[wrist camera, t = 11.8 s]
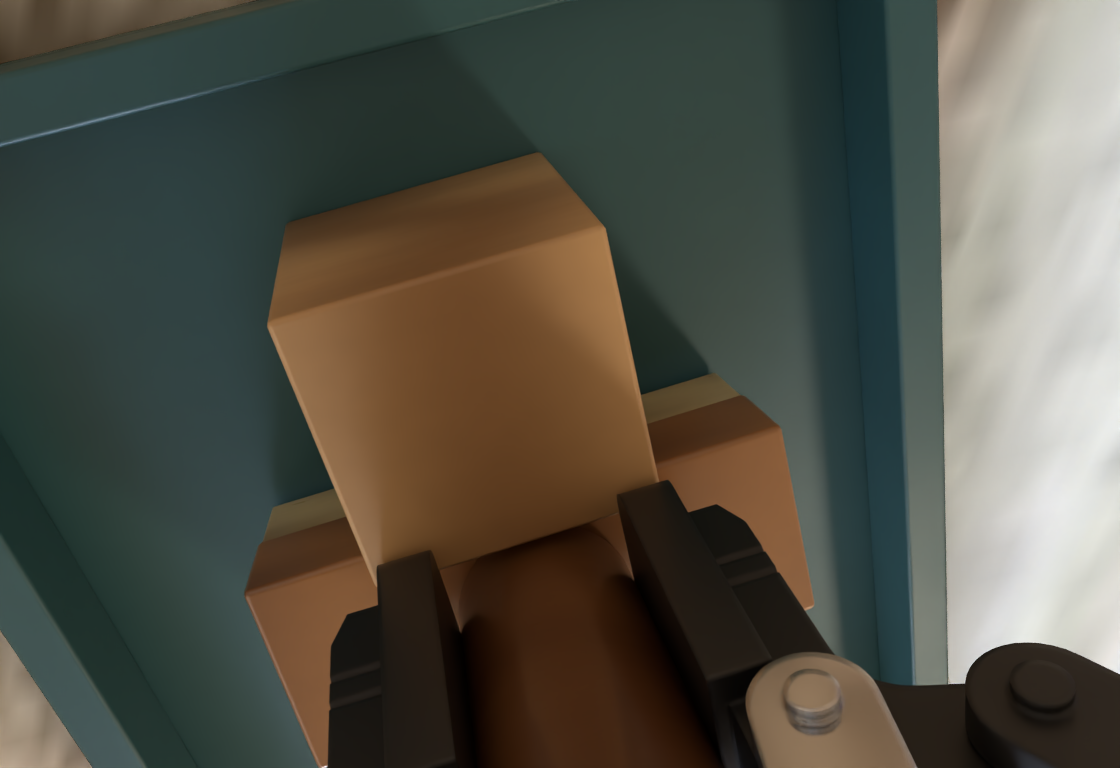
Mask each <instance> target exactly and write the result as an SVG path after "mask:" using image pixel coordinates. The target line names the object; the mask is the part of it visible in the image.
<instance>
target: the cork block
mask: <svg viewBox="0 0 1120 768" xmlns="http://www.w3.org/2000/svg"><path fill="white" fill-rule="evenodd" d="M267 328H268V330H269V333H270V335H271V337H272V340H273V342H274V345H275V347H276V349H277V352H278V354H279V357H280V359H281V361H282V364H283V366H284V369H285V371H286V373H287V376H288V378H289V381H290V383H291V385H292V388H293V390H294V393H295V395H296V397H297V400H298V402H299V405H300V407H301V409H302V412H303V414H304V417H305V419H306V421H307V424H308V426H309V429H310V431H311V433H312V436H313V438H314V441H315V443H316V445H317V448H318V450H319V453H320V455H321V457H322V460H323V462H324V465H325V467H326V469H327V472H328V474H329V477H330V479H331V481H332V484H333V486H334V489H335V491H336V493H337V496H338V498H339V501H340V503H341V505H342V508H343V510H344V513H345V515H346V517H347V520H348V522H349V525H350V527H351V529H352V532H353V534H354V536H355V539H356V541H357V544H358V546H359V548H360V551H361V553H362V556H363V558H364V560H365V563H366V565H367V568H368V570H369V572H370V575H371V577H372V580H373V582H374V584H375V586H376V587H377V565H380V564H383V563H387V562H390V561H393V560H397V559H400V558H403V557H407V556H410V555H414V554H417V553H420V552H424V551H427V550H431V551H432V553H433V555H434V558H435V561H436V564H437V566H438V569H439V570H442V569H445V568H448V567H451V566H455V565H458V564H461V563H464V562H467V561H470V560H474V559H477V558H480V557H483V556H486V555H489V554H493V553H496V552H499V551H502V550H505V549H508V548H511V547H515V546H518V545H521V544H524V543H527V542H530V541H534V540H537V539H540V538H543V537H546V536H549V535H553V534H556V533H559V532H562V531H565V530H568V529H572V528H575V527H578V526H581V525H584V524H587V523H591V522H594V521H597V520H600V519H603V518H606V517H610V516H613V515H616V514H619V508H618V504H617V494H621V493H624V492H628V491H631V490H634V489H638V488H641V487H644V486H648V485H651V484H655V483H658V482H659V479H658V474H657V469H656V464H655V460H654V455H653V450H652V445H651V441H650V436H649V431H648V426H647V422H646V417H645V412H644V407H643V403H642V398H641V393H640V388H639V384H638V379H637V374H636V369H635V365H634V360H633V355H632V351H631V346H630V341H629V336H628V332H627V327H626V322H625V317H624V313H623V308H622V303H621V298H620V294H619V289H618V284H617V279H616V275H615V270H614V265H613V260H612V256H611V251H610V246H609V241H608V237H607V232H606V228H605V227H604V226H603V224H602V223H601V222H600V221H599V220H598V218H597V217H596V216H595V215H594V214H593V213H592V211H591V210H590V209H589V208H588V207H587V206H586V205H585V203H584V202H583V201H582V200H581V199H580V198H579V196H578V195H577V194H576V193H575V192H574V191H573V189H572V188H571V187H570V186H569V185H568V184H567V182H566V181H565V180H564V179H563V178H562V177H561V175H560V174H559V173H558V172H557V171H556V170H555V168H554V167H553V166H552V165H551V164H550V163H549V161H548V160H547V159H546V158H545V157H544V156H543V155H542V153H539V152H536V153H533V154H529V155H525V156H522V157H518V158H515V159H511V160H508V161H504V162H501V163H497V164H494V165H490V166H486V167H483V168H479V169H476V170H472V171H469V172H465V173H462V174H458V175H455V176H451V177H447V178H444V179H440V180H437V181H433V182H430V183H426V184H423V185H419V186H416V187H412V188H408V189H405V190H401V191H398V192H394V193H391V194H387V195H384V196H380V197H377V198H373V199H369V200H366V201H362V202H359V203H355V204H352V205H348V206H345V207H341V208H338V209H334V210H330V211H327V212H323V213H320V214H316V215H313V216H309V217H306V218H302V219H299V220H295V221H291V222H289V223H287V224H286V226H285V232H284V237H283V242H282V248H281V253H280V258H279V264H278V269H277V274H276V279H275V285H274V290H273V295H272V301H271V306H270V311H269V317H268V322H267Z"/></svg>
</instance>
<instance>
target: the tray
mask: <svg viewBox="0 0 1120 768" xmlns="http://www.w3.org/2000/svg"><path fill="white" fill-rule="evenodd" d="M536 152H539V153H542V155H543V156H544V157H545V158H546V159H547V160H548V161H549V163H550V164H551V165H552V166H553V167H554V168H555V170H556V171H557V172H558V173H559V174H560V175H561V177H562V178H563V179H564V180H565V181H566V182H567V184H568V185H569V186H570V187H571V188H572V189H573V191H574V192H575V193H576V194H577V195H578V196H579V198H580V199H581V200H582V201H583V202H584V203H585V205H586V206H587V207H588V208H589V209H590V210H591V211H592V213H593V214H594V215H595V216H596V217H597V218H598V220H599V221H600V222H601V223H602V224H603V226H604V227H605V228H606V232H607V237H608V241H609V246H610V251H611V256H612V260H613V265H614V270H615V275H616V279H617V284H618V289H619V294H620V298H621V303H622V308H623V313H624V317H625V322H626V327H627V332H628V336H629V341H630V346H631V351H632V355H633V360H634V365H635V369H636V374H637V379H638V384H639V388H640V393H641V395H643V394H646V393H649V392H653V391H656V390H659V389H662V388H666V387H669V386H672V385H675V384H679V383H682V382H685V381H689V380H692V379H695V378H698V377H702V376H705V375H708V374H712V373H716V374H717V375H718V376H719V377H721V378H722V379H723V380H724V381H725V382H726V383H727V384H728V385H730V386H731V387H732V388H733V389H734V390H735V391H736V392H737V393H739V394H740V395H744V396H746V397H747V398H748V399H749V400H751V401H752V402H753V403H754V404H755V405H756V406H757V407H759V408H760V409H761V410H762V411H763V412H764V413H765V414H766V415H768V416H769V417H770V418H771V419H772V420H773V421H774V422H776V423H777V424H778V425H779V426H780V428H781V429H782V434H783V440H784V445H785V450H786V456H787V461H788V466H789V471H790V477H791V482H792V487H793V492H794V498H795V503H796V508H797V513H798V519H799V524H800V529H801V534H802V540H803V545H804V550H805V555H806V561H807V566H808V571H809V577H810V582H811V587H812V592H813V598H814V607H812V608H811V609H808V610H805V611H806V613H807V614H808V616H809V617H810V619H811V620H812V622H813V623H814V625H815V626H816V628H817V630H818V631H819V633H820V634H821V636H822V637H823V639H824V640H825V642H826V643H827V645H828V646H829V648H830V649H831V650H832V651H833V653H834V654H835V655H836V656H839V657H842V658H844V659H847V660H849V661H851V662H853V663H855V664H856V665H858V666H859V667H861V668H862V669H863V670H864V671H866V672H867V673H868V674H869V675H870V676H871V678H872V679H875V680H878V681H882V682H887V683H891V684H899V685H942V684H948V649H947V587H946V526H945V464H944V403H943V341H942V280H941V218H940V157H939V95H938V34H937V0H257V1H253V2H249V3H245V4H241V5H237V6H232V7H228V8H224V9H220V10H216V11H212V12H208V13H204V14H200V15H196V16H192V17H188V18H184V19H180V20H176V21H172V22H168V23H164V24H160V25H156V26H152V27H148V28H144V29H140V30H136V31H132V32H128V33H124V34H120V35H115V36H111V37H107V38H103V39H99V40H95V41H91V42H87V43H83V44H79V45H75V46H71V47H67V48H63V49H59V50H55V51H51V52H47V53H43V54H39V55H35V56H31V57H27V58H23V59H19V60H15V61H11V62H7V63H3V64H0V630H1V632H2V633H3V635H4V636H5V638H6V639H7V641H8V642H9V644H10V645H11V647H12V648H13V650H14V651H15V653H16V654H17V656H18V657H19V659H20V660H21V662H22V663H23V665H24V666H25V668H26V669H27V671H28V672H29V674H30V675H31V677H32V678H33V680H34V681H35V683H36V684H37V686H38V687H39V688H40V690H41V691H42V693H43V694H44V696H45V697H46V699H47V700H48V702H49V703H50V705H51V706H52V708H53V709H54V711H55V712H56V714H57V715H58V717H59V718H60V720H61V721H62V723H63V724H64V726H65V727H66V729H67V730H68V732H69V733H70V735H71V736H72V738H73V739H74V741H75V742H76V744H77V745H78V747H79V748H80V750H81V751H82V753H83V754H84V756H85V757H86V759H87V760H88V762H89V763H90V765H91V766H92V768H319V767H318V766H317V764H316V762H315V759H314V757H313V755H312V752H311V750H310V748H309V745H308V743H307V741H306V738H305V736H304V734H303V732H302V729H301V727H300V725H299V722H298V720H297V718H296V715H295V713H294V711H293V708H292V706H291V704H290V701H289V699H288V697H287V694H286V692H285V690H284V687H283V685H282V683H281V680H280V678H279V676H278V674H277V671H276V669H275V667H274V664H273V662H272V660H271V657H270V655H269V653H268V650H267V648H266V646H265V643H264V641H263V639H262V636H261V634H260V632H259V629H258V627H257V625H256V622H255V620H254V618H253V615H252V613H251V611H250V609H249V606H248V604H247V602H246V599H245V597H244V591H245V588H246V585H247V582H248V578H249V575H250V572H251V568H252V565H253V562H254V558H255V555H256V552H257V549H258V545H259V544H261V543H262V542H263V539H264V535H265V532H266V528H267V525H268V522H269V518H270V515H271V512H272V508H274V507H275V506H278V505H282V504H285V503H288V502H292V501H295V500H298V499H301V498H305V497H308V496H311V495H315V494H318V493H321V492H324V491H328V490H331V489H334V486H333V484H332V481H331V479H330V477H329V474H328V472H327V469H326V467H325V465H324V462H323V460H322V457H321V455H320V453H319V450H318V448H317V445H316V443H315V441H314V438H313V436H312V433H311V431H310V429H309V426H308V424H307V421H306V419H305V417H304V414H303V412H302V409H301V407H300V405H299V402H298V400H297V397H296V395H295V393H294V390H293V388H292V385H291V383H290V381H289V378H288V376H287V373H286V371H285V369H284V366H283V364H282V361H281V359H280V357H279V354H278V352H277V349H276V347H275V345H274V342H273V340H272V337H271V335H270V333H269V330H268V328H267V322H268V317H269V311H270V306H271V301H272V295H273V290H274V285H275V279H276V274H277V269H278V264H279V258H280V253H281V248H282V242H283V237H284V232H285V226H286V224H287V223H289V222H291V221H295V220H299V219H302V218H306V217H309V216H313V215H316V214H320V213H323V212H327V211H330V210H334V209H338V208H341V207H345V206H348V205H352V204H355V203H359V202H362V201H366V200H369V199H373V198H377V197H380V196H384V195H387V194H391V193H394V192H398V191H401V190H405V189H408V188H412V187H416V186H419V185H423V184H426V183H430V182H433V181H437V180H440V179H444V178H447V177H451V176H455V175H458V174H462V173H465V172H469V171H472V170H476V169H479V168H483V167H486V166H490V165H494V164H497V163H501V162H504V161H508V160H511V159H515V158H518V157H522V156H525V155H529V154H533V153H536ZM326 768H328V767H326Z"/></svg>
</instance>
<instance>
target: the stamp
mask: <svg viewBox="0 0 1120 768" xmlns="http://www.w3.org/2000/svg"><path fill="white" fill-rule="evenodd" d="M641 398H642V403H643V407H644V412H645V417H646V422H647V426H648V431H649V436H650V441H651V445H652V450H653V455H654V460H655V464H656V469H657V474H658V479H659V482H661V481H665V480H669V481H670V482H671V484H672V485H673V487H674V489H675V490H676V492H677V494H678V496H679V497H680V499H681V501H682V503H683V504H684V506H685V508H686V509H687V511H688V512H691V511H695V510H698V509H701V508H705V507H708V506H711V505H715V504H718V505H719V506H721V507H723V508H724V509H726V510H728V511H729V512H731V513H733V514H734V515H736V516H738V517H739V518H741V519H743V520H744V521H746V523H747V524H748V526H749V527H750V529H751V530H752V532H753V533H754V535H755V536H756V538H757V539H758V541H759V542H760V544H761V545H762V548H763V550H764V552H765V551H766V553H767V554H768V556H769V557H770V559H771V560H772V562H773V563H774V565H775V566H776V569H777V572H780V574H781V575H782V577H783V578H784V580H785V581H786V583H787V584H788V586H789V587H790V589H791V590H792V592H793V593H794V595H795V596H796V598H797V599H798V601H799V602H800V604H801V605H802V607H803V608H804V610H808V609H811V608H812V607H814V598H813V592H812V587H811V582H810V577H809V571H808V566H807V561H806V555H805V550H804V545H803V540H802V534H801V529H800V524H799V519H798V513H797V508H796V503H795V498H794V492H793V487H792V482H791V477H790V471H789V466H788V461H787V456H786V450H785V445H784V440H783V434H782V429H781V428H780V426H779V425H778V424H777V423H776V422H774V421H773V420H772V419H771V418H770V417H769V416H768V415H766V414H765V413H764V412H763V411H762V410H761V409H760V408H759V407H757V406H756V405H755V404H754V403H753V402H752V401H751V400H749V399H748V398H747V397H746V396H744V395H740V394H739V393H737V392H736V391H735V390H734V389H733V388H732V387H731V386H730V385H728V384H727V383H726V382H725V381H724V380H723V379H722V378H721V377H719V376H718V375H717V374H716V373H712V374H708V375H705V376H702V377H698V378H695V379H692V380H689V381H685V382H682V383H679V384H675V385H672V386H669V387H666V388H662V389H659V390H656V391H653V392H649V393H646V394H643V395H641ZM439 571H440V574H441V577H442V580H443V583H444V586H445V588H446V591H447V594H448V597H449V600H450V603H451V606H452V609H453V612H454V614H455V617H456V620H457V623H458V626H459V629H460V632H461V637H462V646H463V654H464V662H465V671H466V679H467V688H468V696H469V704H470V713H471V721H472V730H473V738H474V746H475V755H476V763H477V768H725V767H724V765H723V763H722V761H721V759H720V757H719V755H718V753H717V751H716V749H715V747H714V745H713V743H712V741H711V738H710V736H709V734H708V732H707V730H706V728H705V726H704V724H703V722H702V720H701V718H700V716H699V714H698V712H697V710H696V707H695V705H694V703H693V701H692V699H691V697H690V695H689V693H688V691H687V689H686V687H685V685H684V683H683V681H682V679H681V676H680V674H679V672H678V670H677V668H676V666H675V664H674V662H673V660H672V658H671V656H670V654H669V652H668V650H667V648H666V645H665V643H664V641H663V639H662V637H661V635H660V633H659V631H658V629H657V627H656V625H655V623H654V621H653V619H652V617H651V614H650V612H649V610H648V608H647V606H646V604H645V602H644V600H643V598H642V596H641V594H640V592H639V590H638V588H637V585H636V583H635V581H634V577H633V573H632V568H631V563H630V559H629V554H628V550H627V545H626V541H625V536H624V532H623V527H622V523H621V518H620V514H616V515H613V516H610V517H606V518H603V519H600V520H597V521H594V522H591V523H587V524H584V525H581V526H578V527H575V528H572V529H568V530H565V531H562V532H559V533H556V534H553V535H549V536H546V537H543V538H540V539H537V540H534V541H530V542H527V543H524V544H521V545H518V546H515V547H511V548H508V549H505V550H502V551H499V552H496V553H493V554H489V555H486V556H483V557H480V558H477V559H474V560H470V561H467V562H464V563H461V564H458V565H455V566H451V567H448V568H445V569H442V570H439ZM244 597H245V599H246V602H247V604H248V606H249V609H250V611H251V613H252V615H253V618H254V620H255V622H256V625H257V627H258V629H259V632H260V634H261V636H262V639H263V641H264V643H265V646H266V648H267V650H268V653H269V655H270V657H271V660H272V662H273V664H274V667H275V669H276V671H277V674H278V676H279V678H280V680H281V683H282V685H283V687H284V690H285V692H286V694H287V697H288V699H289V701H290V704H291V706H292V708H293V711H294V713H295V715H296V718H297V720H298V722H299V725H300V727H301V729H302V732H303V734H304V736H305V738H306V741H307V743H308V745H309V748H310V750H311V752H312V755H313V757H314V759H315V762H316V764H317V766H318V767H319V768H326V767H328V731H329V710H331V709H330V704H329V693H330V684H331V679H330V655H331V645H332V643H333V641H334V639H335V637H336V635H337V633H338V631H339V629H340V627H341V625H342V623H343V621H344V619H345V618H346V616H347V614H350V613H353V612H356V611H360V610H363V609H366V608H370V607H373V606H376V605H378V597H377V587H376V586H375V584H374V582H373V580H372V577H371V575H370V572H369V570H368V568H367V565H366V563H365V560H364V558H363V556H362V553H361V551H360V548H359V546H358V544H357V541H356V539H355V536H354V534H353V532H352V529H351V527H350V525H349V522H348V520H347V517H346V515H345V513H344V510H343V508H342V505H341V503H340V501H339V498H338V496H337V493H336V491H335V489H331V490H328V491H324V492H321V493H318V494H315V495H311V496H308V497H305V498H301V499H298V500H295V501H292V502H288V503H285V504H282V505H278V506H275V507H274V508H272V512H271V515H270V518H269V522H268V525H267V528H266V532H265V535H264V539H263V542H262V543H261V544H259V545H258V549H257V552H256V555H255V558H254V562H253V565H252V568H251V572H250V575H249V578H248V582H247V585H246V588H245V591H244Z"/></svg>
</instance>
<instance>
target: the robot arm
mask: <svg viewBox="0 0 1120 768" xmlns="http://www.w3.org/2000/svg"><path fill="white" fill-rule="evenodd" d="M617 504H618V508H619V514H620V518H621V523H622V527H623V532H624V536H625V541H626V545H627V550H628V554H629V559H630V563H631V568H632V573H633V577H634V581H635V583H636V585H637V588H638V590H639V592H640V594H641V596H642V598H643V600H644V602H645V604H646V606H647V608H648V610H649V612H650V614H651V617H652V619H653V621H654V623H655V625H656V627H657V629H658V631H659V633H660V635H661V637H662V639H663V641H664V643H665V645H666V648H667V650H668V652H669V654H670V656H671V658H672V660H673V662H674V664H675V666H676V668H677V670H678V672H679V674H680V676H681V679H682V681H683V683H684V685H685V687H686V689H687V691H688V693H689V695H690V697H691V699H692V701H693V703H694V705H695V707H696V710H697V712H698V714H699V716H700V718H701V720H702V722H703V724H704V726H705V728H706V730H707V732H708V734H709V736H710V738H711V741H712V743H713V745H714V747H715V749H716V751H717V753H718V755H719V757H720V759H721V761H722V763H723V765H724V767H725V768H1120V674H1118V673H1116V672H1114V671H1111V670H1109V669H1107V668H1105V667H1103V666H1101V665H1099V664H1097V663H1095V662H1093V661H1091V660H1089V659H1087V658H1084V657H1082V656H1080V655H1078V654H1076V653H1073V652H1071V651H1069V650H1066V649H1063V648H1059V647H1056V646H1052V645H1046V644H1041V643H1013V644H1008V645H1003V646H1000V647H997V648H994V649H992V650H990V651H988V652H986V653H984V654H983V655H981V656H980V657H979V658H978V659H976V661H975V662H974V663H973V664H972V666H971V667H970V669H969V671H968V673H967V677H966V682H965V684H942V685H899V684H891V683H887V682H882V681H878V680H875V679H872V678H871V676H870V675H869V674H868V673H867V672H866V671H864V670H863V669H862V668H861V667H859V666H858V665H856V664H855V663H853V662H851V661H849V660H847V659H844V658H842V657H839V656H836V655H835V654H834V653H833V651H832V650H831V649H830V648H829V646H828V645H827V643H826V642H825V640H824V639H823V637H822V636H821V634H820V633H819V631H818V630H817V628H816V626H815V625H814V623H813V622H812V620H811V619H810V617H809V616H808V614H807V613H806V611H805V610H804V608H803V607H802V605H801V604H800V602H799V601H798V599H797V598H796V596H795V595H794V593H793V592H792V590H791V589H790V587H789V586H788V584H787V583H786V581H785V580H784V578H783V577H782V575H781V574H780V572H777V569H776V566H775V565H774V563H773V562H772V560H771V559H770V557H769V556H768V554H767V553H766V551H765V552H764V550H763V548H762V545H761V544H760V542H759V541H758V539H757V538H756V536H755V535H754V533H753V532H752V530H751V529H750V527H749V526H748V524H747V523H746V521H744V520H743V519H741V518H739V517H738V516H736V515H734V514H733V513H731V512H729V511H728V510H726V509H724V508H723V507H721V506H719V505H718V504H715V505H711V506H708V507H705V508H701V509H698V510H695V511H691V512H688V511H687V509H686V508H685V506H684V504H683V503H682V501H681V499H680V497H679V496H678V494H677V492H676V490H675V489H674V487H673V485H672V484H671V482H670V481H669V480H665V481H661V482H658V483H655V484H651V485H648V486H644V487H641V488H638V489H634V490H631V491H628V492H624V493H621V494H617ZM377 597H378V605H376V606H373V607H370V608H366V609H363V610H360V611H356V612H353V613H350V614H347V616H346V618H345V619H344V621H343V623H342V625H341V627H340V629H339V631H338V633H337V635H336V637H335V639H334V641H333V643H332V645H331V655H330V679H331V684H330V693H329V704H330V709H331V710H329V731H328V768H477V763H476V755H475V746H474V738H473V730H472V721H471V713H470V704H469V696H468V688H467V679H466V671H465V662H464V654H463V646H462V637H461V632H460V629H459V626H458V623H457V620H456V617H455V614H454V612H453V609H452V606H451V603H450V600H449V597H448V594H447V591H446V588H445V586H444V583H443V580H442V577H441V574H440V571H439V569H438V566H437V564H436V561H435V558H434V555H433V553H432V551H431V550H427V551H424V552H420V553H417V554H414V555H410V556H407V557H403V558H400V559H397V560H393V561H390V562H387V563H383V564H380V565H377Z"/></svg>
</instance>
